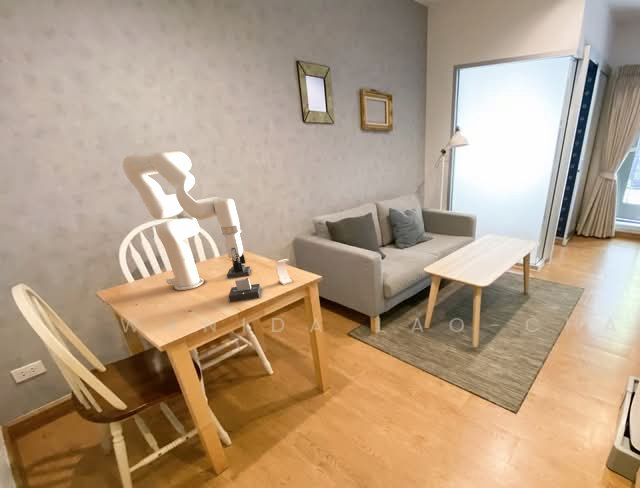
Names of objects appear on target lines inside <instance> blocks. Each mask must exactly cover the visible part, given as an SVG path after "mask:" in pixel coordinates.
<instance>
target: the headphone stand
mask: <svg viewBox="0 0 640 488" xmlns="http://www.w3.org/2000/svg"><path fill="white" fill-rule="evenodd" d="M287 262H289V258H284V259H280V260H277V261H276V262H275V270H276V274H277V277H278V279H279V280H278V282H279V283H280V284H282V285H283V286H284V285H288V284H291V283H293V280H292V279H291V278H290V276H289V273H288V270H287V266H286V264H287Z"/></svg>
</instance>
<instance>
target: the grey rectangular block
mask: <svg viewBox="0 0 640 488" xmlns="http://www.w3.org/2000/svg"><path fill="white" fill-rule="evenodd" d="M234 283H235V287H237V291H243V290H250V289H251V285H252V284H251V282H250V278H249V277H246V278H240V279H235V281H234Z"/></svg>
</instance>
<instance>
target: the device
mask: <svg viewBox="0 0 640 488" xmlns="http://www.w3.org/2000/svg"><path fill="white" fill-rule="evenodd" d="M250 285H251V289H250V290H243V291H237V287H236V286H232V287H231V288H230V291H229V292H228V299H229V302H230V303H232V302H233V303H234V302H239V301H240V302H241V301H247V300H248V301H249V300H253V299H254V300H255V299H260V296H261V292H262V291H261V290H262V289H261V284H260V283H253V284H250Z"/></svg>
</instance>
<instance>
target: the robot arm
mask: <svg viewBox="0 0 640 488" xmlns="http://www.w3.org/2000/svg"><path fill="white" fill-rule="evenodd" d="M191 168H192V162H191V159H190V158H189V156H188V155H187V154H186V153H184V152H182V151H179V150H175V151H173V150H172V151H161V152H158V151H157V152H145V153H144V152H143V153H134V154H130V155H126V156H125V157H124V158H123V159H122V169H123V172H124V174H125V176H126V178H127V180H128V181H129V182H130V183H131V184H132V185H133V187H134V188H135V189H136V190H137V192H138V194H139V196H140V198H141V200H142V201H143V203H144V205H145V207H146V209H147V211H148V212H149V214H150V215H151V217H152V218H153V219H155V220H165V219H169V218H173V217H177V218H175V219H174V218H173V219H170V220H167V221H163V222H161V223H159V224H158V225H157V226H156V229H155V231H156V232H155V233H156V235H157V237H158V239H159V241H160V243H161V244H162V246H163V248H164V250H165V253H166V256H167V258H168V262H169V264H170V268H171V271H172V273H173V276H174V277H173V278H167V279H165V282H166V283H167V284H168V285H173V287H174V290H176V291H186V290H191V289H192V290H193V289H196V288H198V287H200V286H202V285H203V284H204V283H205V280H204V278H202V277H200V275H199V272H198V269H197V266H196V263H195V260H194V257H193V252H192V251H191V248H190V247H189V245H188V244H187V243H185V242H184V241H183V240H186V239H189V238H192V237H195V236H197V235H198V234H200V224H199V222H198V221H202V220H206V219H210V218H214V217H216V218H217V222H218V226H219V229H220V234H221V235H222V236H223V239H224V244H225V248H226V253H227V257H228V259H231V262H232V267H234V271H235V272H242V271H243V268H242V265H245V264H246V258H245V255H244V247H243V242H242V239H241V234H240V233H242V229H241V224H240V221H239V215H238V212H237V208H236V204H235V201H234V199H232V198H227V197H226V198H223V197H220V196H211V197H206V198H202V199H197V200H196V199H194V198H193V197H192V196H191V195H190V194H189V193H188V192H189V191H190V190H191V189H192V188H193V187H194V185H195V183H196V179H195V176H194V175H193V174H191V172H189V171H190V170H191ZM149 175H151V176H152V175H160V176H161V177H162V178H163V179H165V181H166V182H168V184H170V185H171V186H172V187H173V188H174V189H175V193H172V194H165V192H164V190H163V189H162V187H161V185H160V184H159V182H157V181H156V180H154V179H153V178H151V177H150V176H149ZM197 220H198V221H197Z"/></svg>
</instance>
